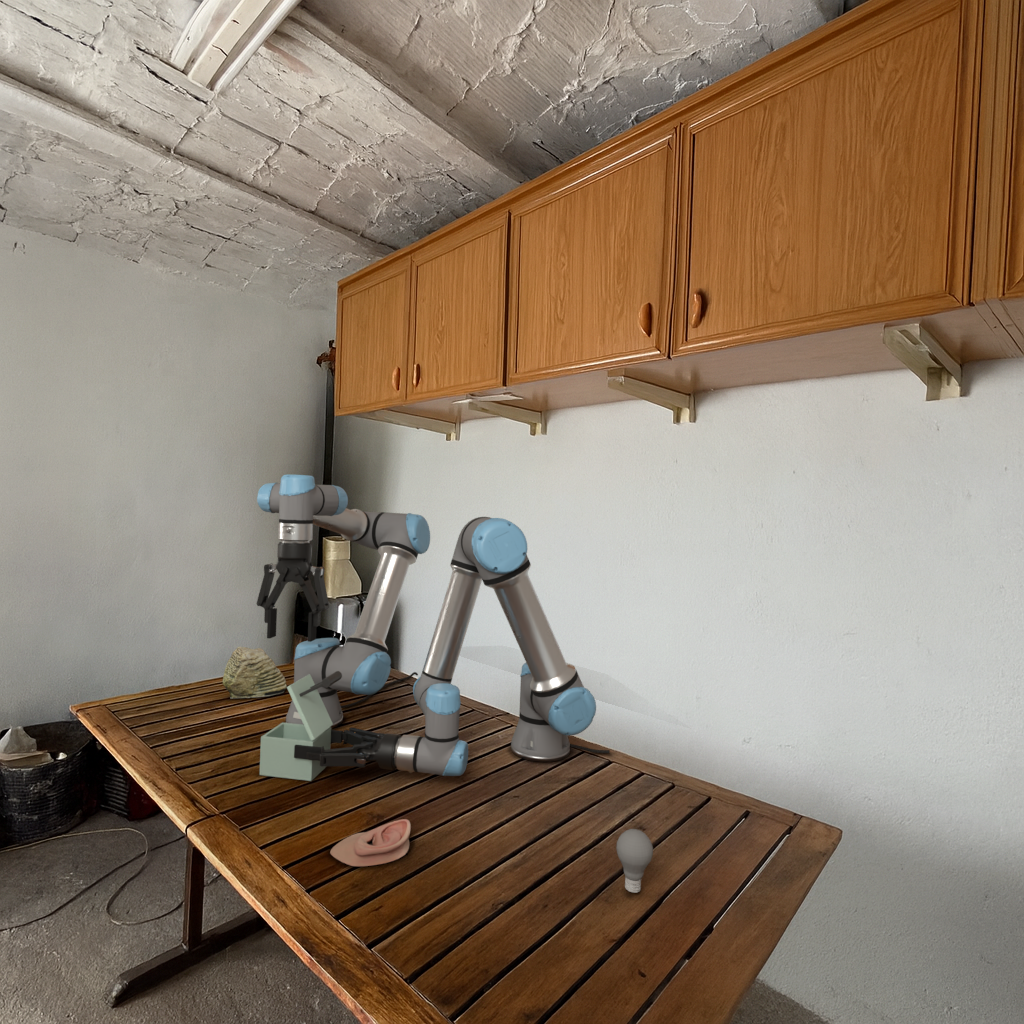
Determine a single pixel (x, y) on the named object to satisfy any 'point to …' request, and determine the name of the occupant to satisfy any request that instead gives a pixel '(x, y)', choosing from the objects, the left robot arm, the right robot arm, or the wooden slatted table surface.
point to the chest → (290, 752)
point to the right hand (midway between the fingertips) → (305, 742)
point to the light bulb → (634, 857)
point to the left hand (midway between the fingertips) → (291, 638)
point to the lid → (312, 703)
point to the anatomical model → (374, 845)
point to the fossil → (252, 674)
